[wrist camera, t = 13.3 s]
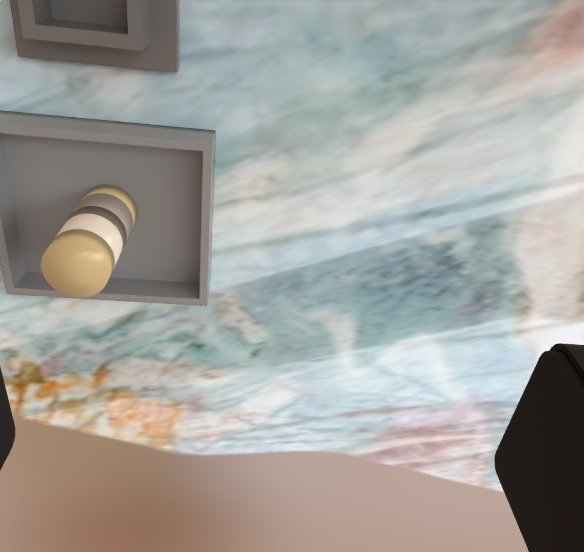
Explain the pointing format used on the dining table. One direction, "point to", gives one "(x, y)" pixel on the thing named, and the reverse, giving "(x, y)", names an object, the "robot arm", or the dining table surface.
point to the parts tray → (118, 172)
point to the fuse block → (100, 32)
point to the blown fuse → (90, 242)
